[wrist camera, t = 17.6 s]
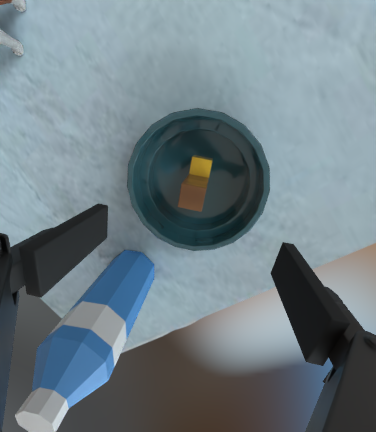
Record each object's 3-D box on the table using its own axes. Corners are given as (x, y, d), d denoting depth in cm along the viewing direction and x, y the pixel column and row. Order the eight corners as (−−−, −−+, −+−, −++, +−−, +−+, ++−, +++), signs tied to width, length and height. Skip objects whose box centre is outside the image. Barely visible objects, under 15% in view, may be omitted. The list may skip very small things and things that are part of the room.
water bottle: (105, 254, 42) (-30, 395, 19) (145, 244, 40) (47, 389, 17) (123, 290, 45) (25, 451, 22) (162, 282, 43) (97, 452, 20)
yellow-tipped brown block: (194, 155, 32) (184, 161, 23) (212, 158, 32) (211, 166, 23) (185, 202, 35) (174, 225, 26) (202, 206, 35) (197, 230, 26)
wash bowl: (148, 104, 31) (131, 96, 25) (276, 127, 30) (291, 124, 24) (138, 220, 38) (124, 235, 32) (241, 242, 37) (246, 262, 31)
